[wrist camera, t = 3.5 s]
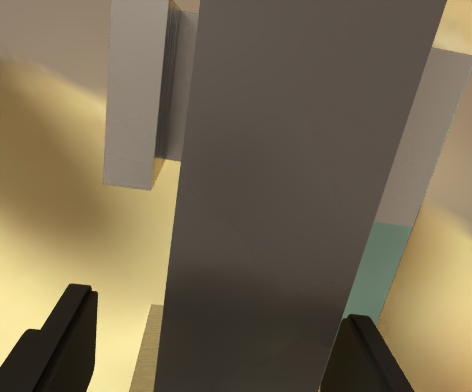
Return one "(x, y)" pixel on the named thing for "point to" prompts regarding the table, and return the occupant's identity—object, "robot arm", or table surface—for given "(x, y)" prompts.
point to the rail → (282, 182)
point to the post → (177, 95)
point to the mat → (378, 266)
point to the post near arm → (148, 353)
